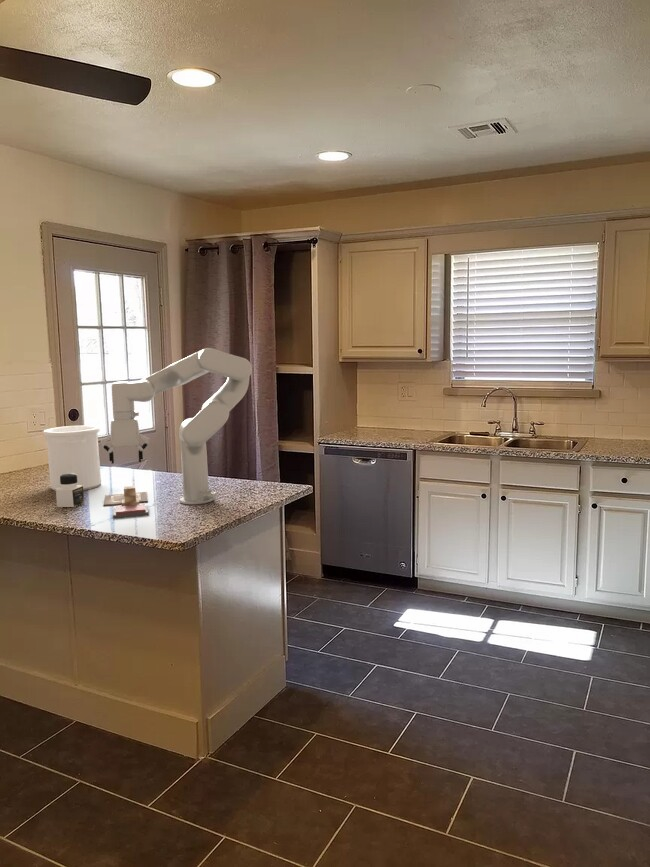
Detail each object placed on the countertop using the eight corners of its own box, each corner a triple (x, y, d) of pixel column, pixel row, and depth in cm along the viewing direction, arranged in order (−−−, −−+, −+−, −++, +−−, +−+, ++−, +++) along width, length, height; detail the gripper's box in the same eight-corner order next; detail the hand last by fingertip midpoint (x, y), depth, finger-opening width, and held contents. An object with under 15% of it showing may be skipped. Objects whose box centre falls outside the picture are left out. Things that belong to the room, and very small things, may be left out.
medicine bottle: (74, 508, 253) (71, 476, 251) (56, 507, 254) (54, 476, 252) (84, 503, 260) (82, 472, 258) (67, 502, 261) (65, 472, 259)
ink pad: (148, 508, 248) (147, 503, 248) (148, 515, 239) (148, 509, 239) (113, 511, 245) (113, 506, 245) (113, 518, 236) (112, 513, 235)
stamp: (139, 504, 255) (137, 485, 254) (139, 508, 250) (138, 488, 248) (122, 506, 254) (121, 486, 253) (122, 509, 248) (120, 489, 247)
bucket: (107, 489, 282) (103, 429, 279) (50, 496, 273) (44, 434, 269) (99, 478, 305) (95, 423, 302) (46, 484, 296) (41, 427, 292)
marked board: (146, 493, 273) (146, 491, 273) (147, 502, 258) (147, 500, 258) (105, 496, 269) (104, 495, 269) (103, 506, 254) (103, 504, 254)
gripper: (148, 413, 253) (150, 459, 255) (99, 415, 248) (102, 461, 250) (148, 415, 245) (151, 462, 248) (98, 418, 241) (101, 465, 243)
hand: (126, 462), depth 249 cm, fingers open, 9 cm apart
